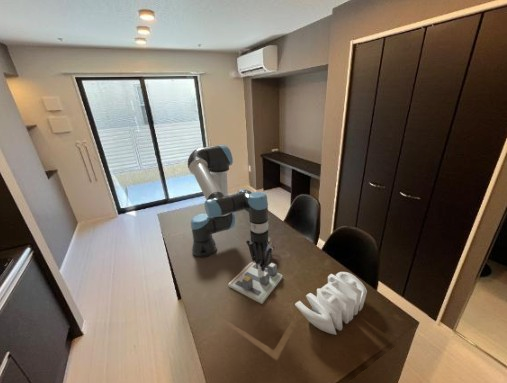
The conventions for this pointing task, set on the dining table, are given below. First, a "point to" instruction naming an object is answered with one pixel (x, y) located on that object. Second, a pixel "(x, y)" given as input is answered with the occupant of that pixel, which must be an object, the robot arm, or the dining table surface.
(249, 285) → the block
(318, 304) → the wavy white extrusion
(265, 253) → the mug
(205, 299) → the dining table surface
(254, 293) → the panel
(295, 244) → the dining table surface
